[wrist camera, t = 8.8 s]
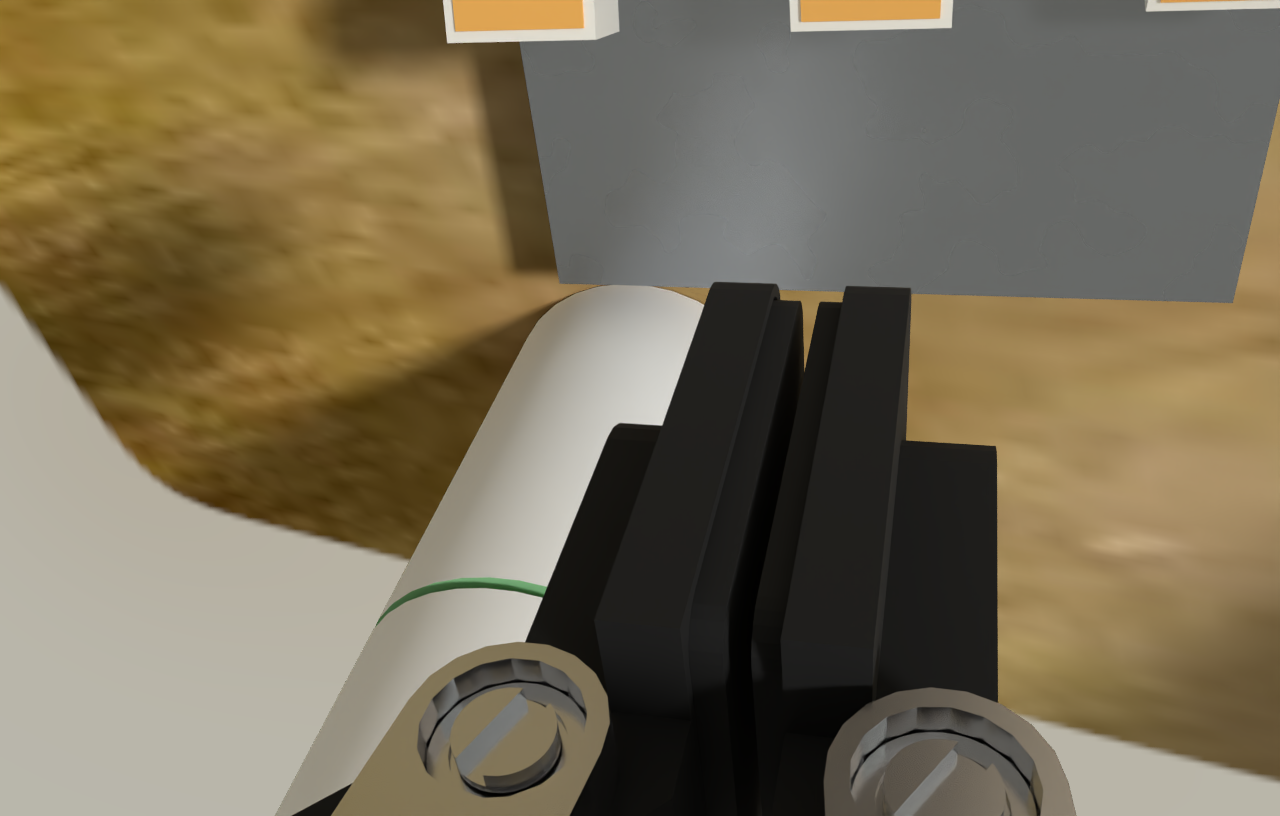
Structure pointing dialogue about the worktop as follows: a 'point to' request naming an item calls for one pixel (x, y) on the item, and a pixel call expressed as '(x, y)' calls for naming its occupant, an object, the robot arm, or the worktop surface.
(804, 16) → the rocker mid
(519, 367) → the cylindrical container
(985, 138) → the breaker panel
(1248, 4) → the rocker
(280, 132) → the worktop surface
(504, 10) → the rocker
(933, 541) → the robot arm
